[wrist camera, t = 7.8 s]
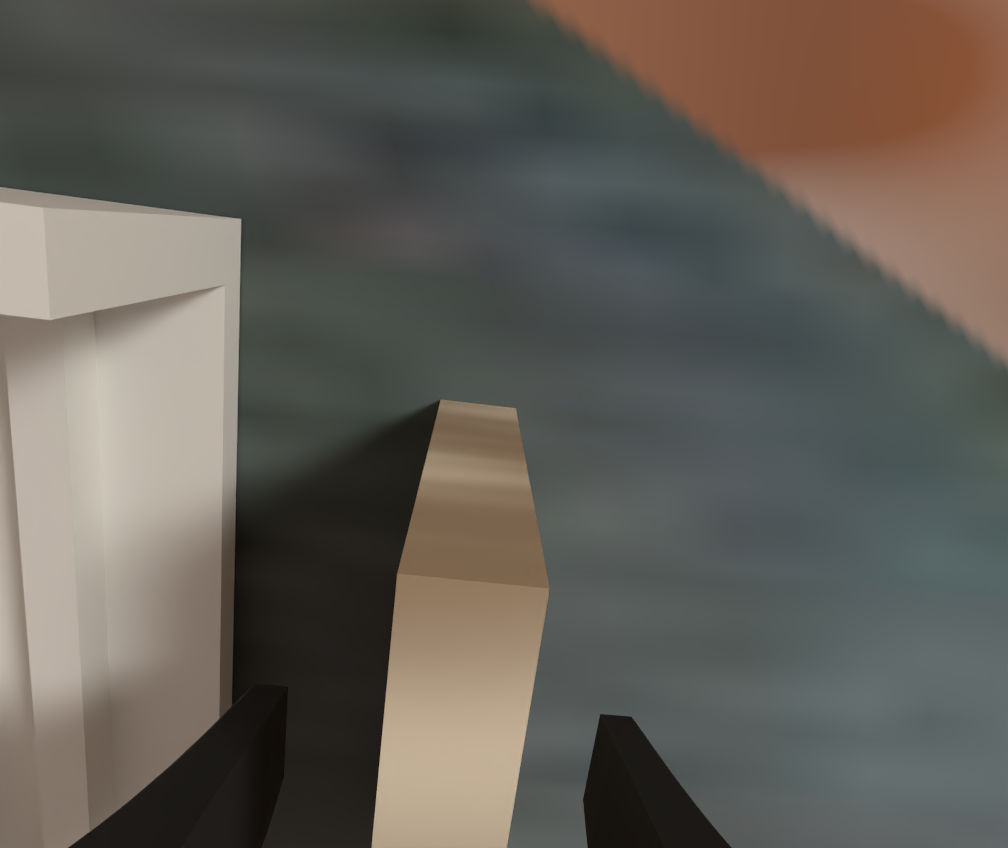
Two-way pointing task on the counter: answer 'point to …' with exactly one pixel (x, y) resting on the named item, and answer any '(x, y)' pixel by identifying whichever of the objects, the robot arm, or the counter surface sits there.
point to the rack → (112, 501)
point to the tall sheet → (462, 639)
